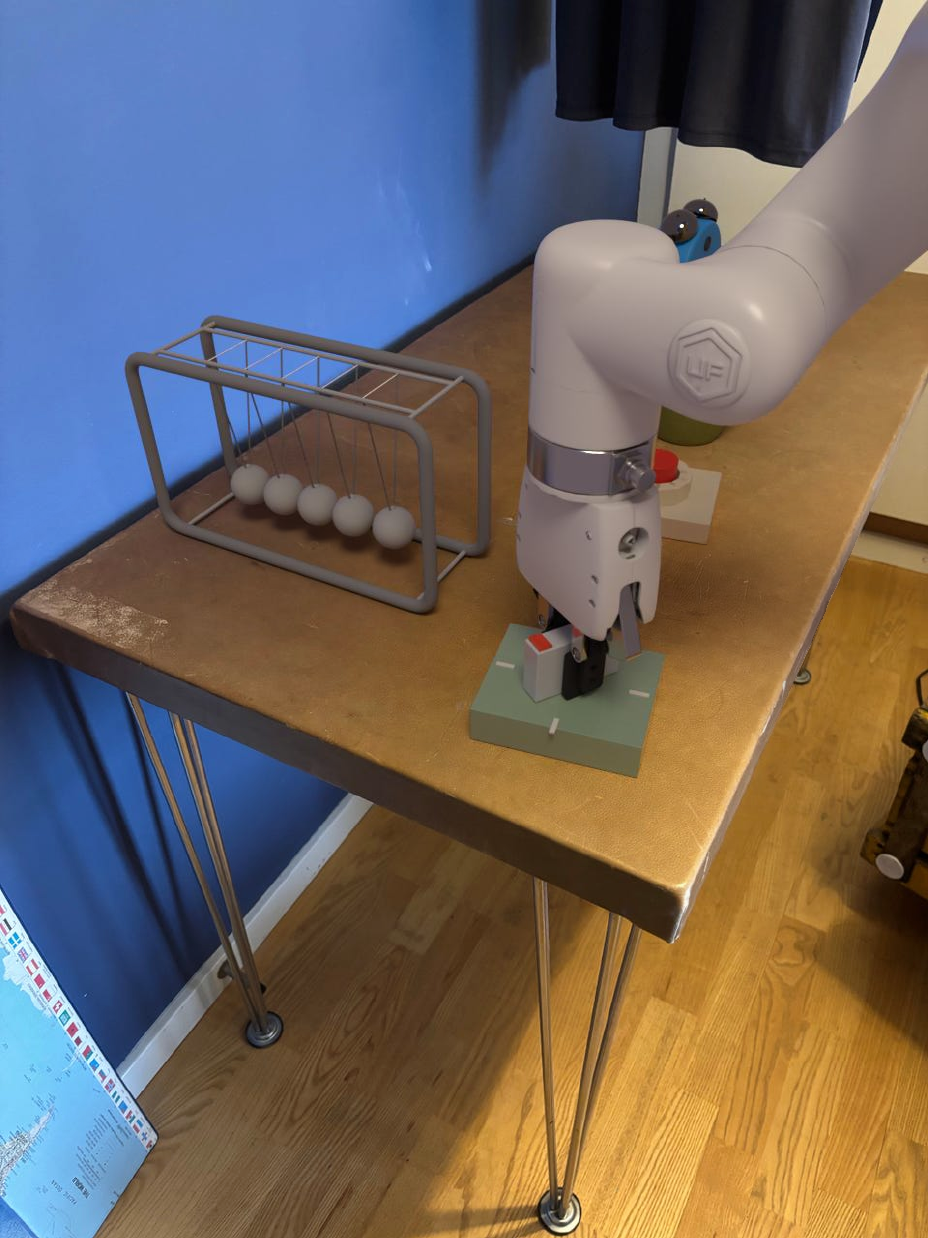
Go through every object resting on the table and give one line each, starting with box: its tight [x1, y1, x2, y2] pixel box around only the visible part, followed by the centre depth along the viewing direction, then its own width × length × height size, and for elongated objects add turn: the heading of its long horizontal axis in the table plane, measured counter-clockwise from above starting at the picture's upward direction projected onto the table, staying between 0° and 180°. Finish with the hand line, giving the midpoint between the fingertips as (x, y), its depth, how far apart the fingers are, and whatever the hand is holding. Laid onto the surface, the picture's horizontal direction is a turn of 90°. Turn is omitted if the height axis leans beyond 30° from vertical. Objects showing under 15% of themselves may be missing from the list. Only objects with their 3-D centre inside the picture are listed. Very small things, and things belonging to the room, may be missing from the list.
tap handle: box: [523, 623, 619, 702], centre depth 64 cm, size 7×2×5 cm, turn 117°
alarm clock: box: [657, 197, 722, 263], centre depth 123 cm, size 13×6×15 cm, turn 146°
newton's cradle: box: [124, 314, 493, 614], centre depth 79 cm, size 30×10×18 cm, turn 61°
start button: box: [653, 448, 680, 484], centre depth 86 cm, size 4×4×2 cm
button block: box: [654, 459, 723, 545], centre depth 88 cm, size 12×10×4 cm
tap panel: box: [469, 622, 666, 779], centre depth 66 cm, size 12×11×3 cm
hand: (570, 678), depth 65 cm, fingers closed on tap handle, 2 cm apart
